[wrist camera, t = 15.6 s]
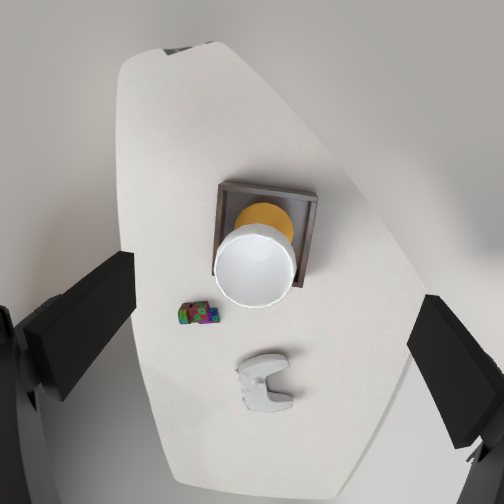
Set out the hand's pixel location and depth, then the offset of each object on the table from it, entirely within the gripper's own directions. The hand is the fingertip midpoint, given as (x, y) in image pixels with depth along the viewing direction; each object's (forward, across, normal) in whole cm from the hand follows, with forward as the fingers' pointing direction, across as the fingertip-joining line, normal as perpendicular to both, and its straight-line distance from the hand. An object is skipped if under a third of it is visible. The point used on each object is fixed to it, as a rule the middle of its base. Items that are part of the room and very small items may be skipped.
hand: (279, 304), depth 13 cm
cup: (+34, -2, -7) cm, 35 cm away
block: (+34, -11, -23) cm, 43 cm away
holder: (+34, -2, -7) cm, 35 cm away
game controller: (+34, +2, -36) cm, 50 cm away
